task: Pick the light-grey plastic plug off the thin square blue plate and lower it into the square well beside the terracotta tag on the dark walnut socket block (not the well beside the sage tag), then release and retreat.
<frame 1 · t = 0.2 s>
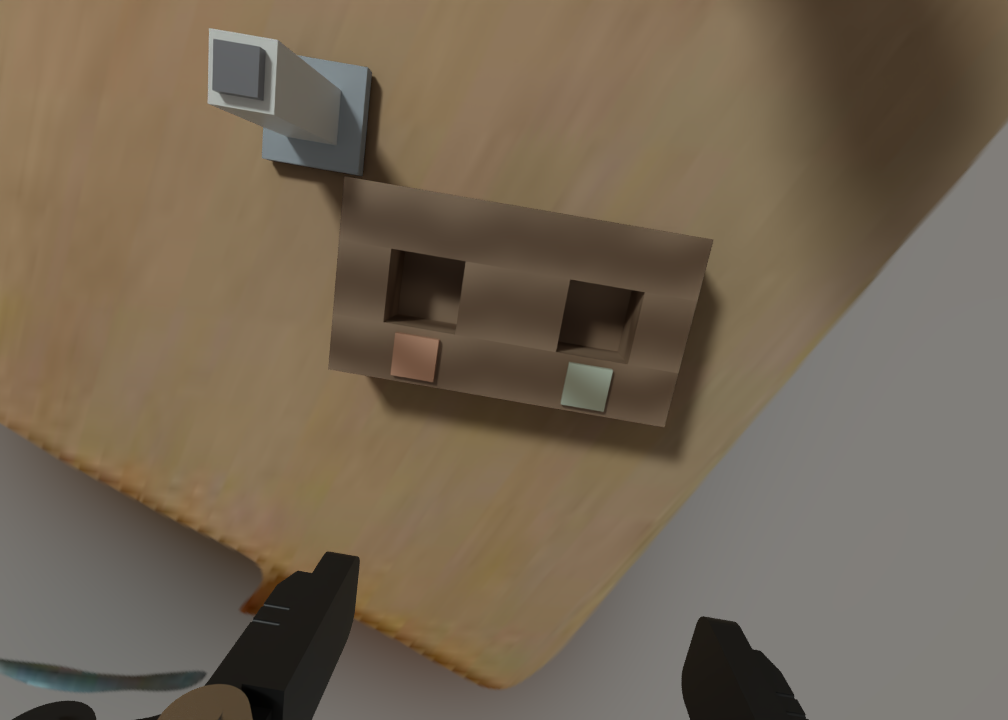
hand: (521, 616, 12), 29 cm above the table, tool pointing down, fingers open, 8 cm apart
thin square blue plate: (319, 117, 36), on the table
socket block: (513, 298, 38), on the table
plug: (313, 113, 35), point 1 cm above the table, touching thin square blue plate
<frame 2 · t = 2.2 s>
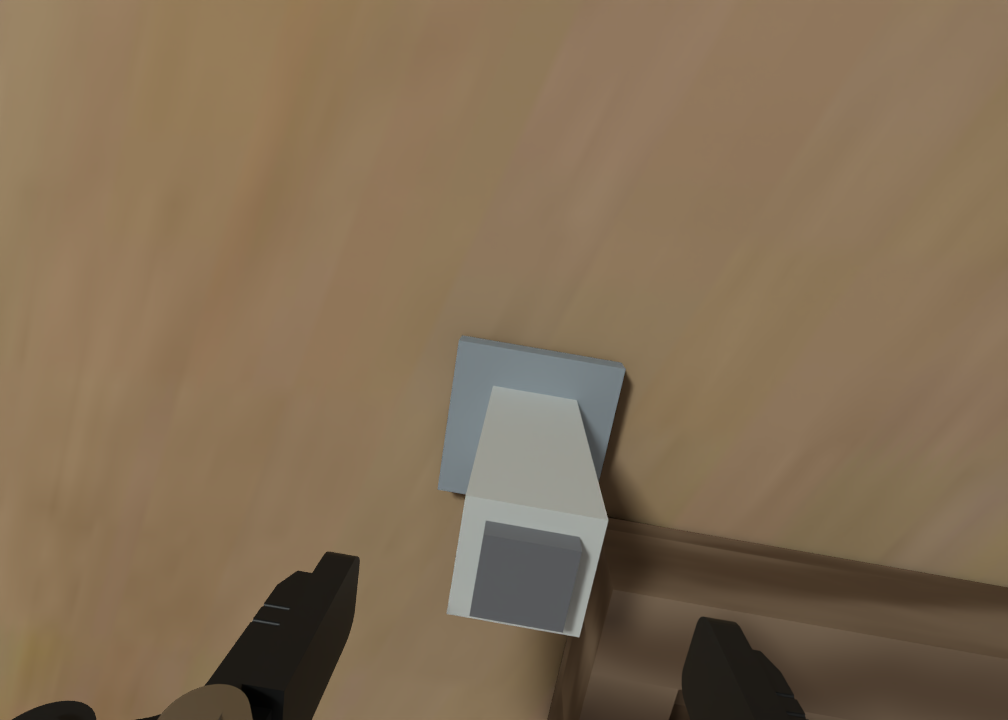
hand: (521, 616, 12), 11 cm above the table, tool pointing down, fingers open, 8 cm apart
thin square blue plate: (527, 423, 23), on the table
socket block: (804, 669, 25), on the table
plug: (527, 431, 22), point 1 cm above the table, touching thin square blue plate
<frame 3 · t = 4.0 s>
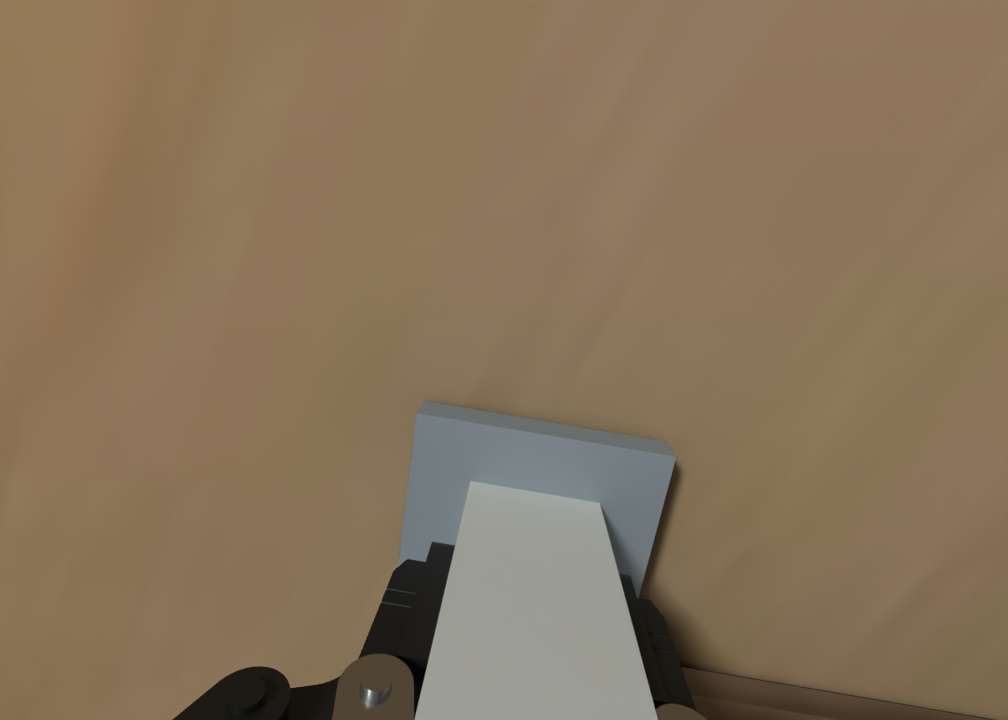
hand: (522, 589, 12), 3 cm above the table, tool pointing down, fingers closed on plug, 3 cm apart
thin square blue plate: (524, 528, 15), on the table
plug: (523, 548, 14), point 1 cm above the table, touching thin square blue plate, gripper
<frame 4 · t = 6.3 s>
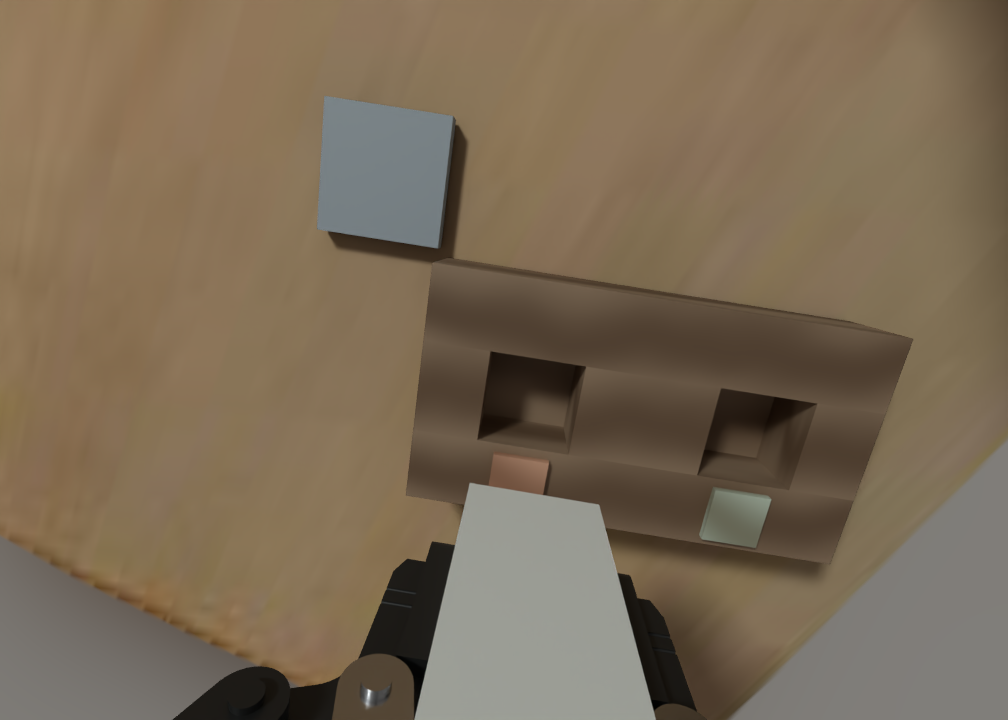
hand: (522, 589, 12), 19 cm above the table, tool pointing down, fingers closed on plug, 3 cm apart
thin square blue plate: (387, 176, 29), on the table
socket block: (625, 392, 31), on the table
plug: (523, 550, 14), point 18 cm above the table, touching gripper
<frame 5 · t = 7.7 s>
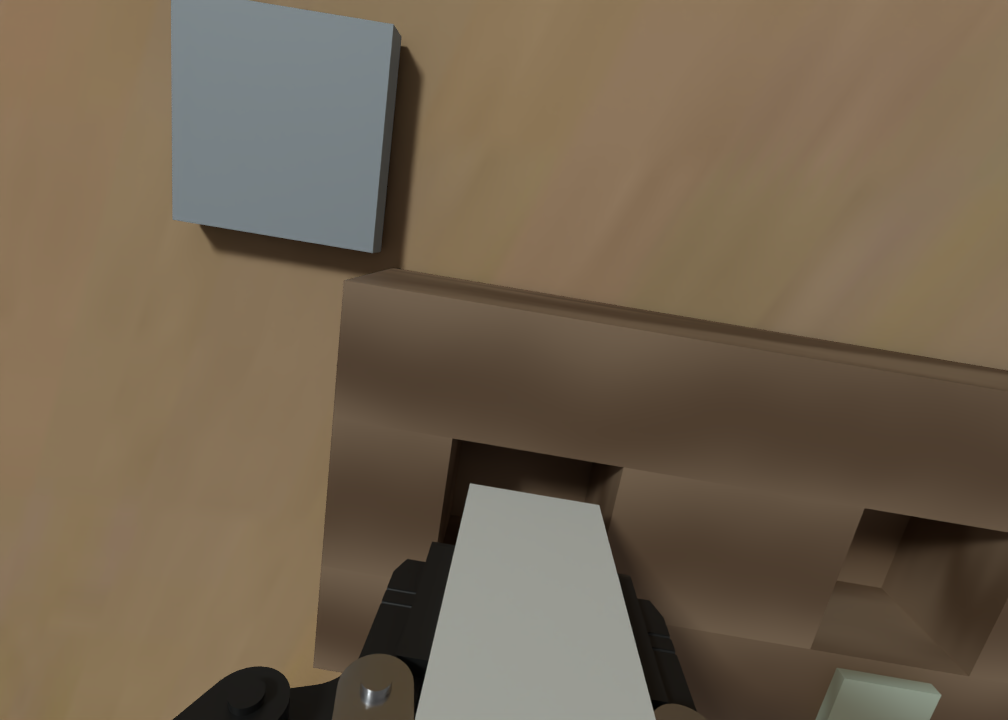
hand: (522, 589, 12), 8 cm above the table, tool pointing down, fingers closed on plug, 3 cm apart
thin square blue plate: (291, 133, 17), on the table
socket block: (673, 481, 20), on the table
plug: (523, 550, 14), point 6 cm above the table, touching gripper
when the fingers open (5 cm above the table, at t = 8.8 s): plug drops 3 cm, resting on socket block.
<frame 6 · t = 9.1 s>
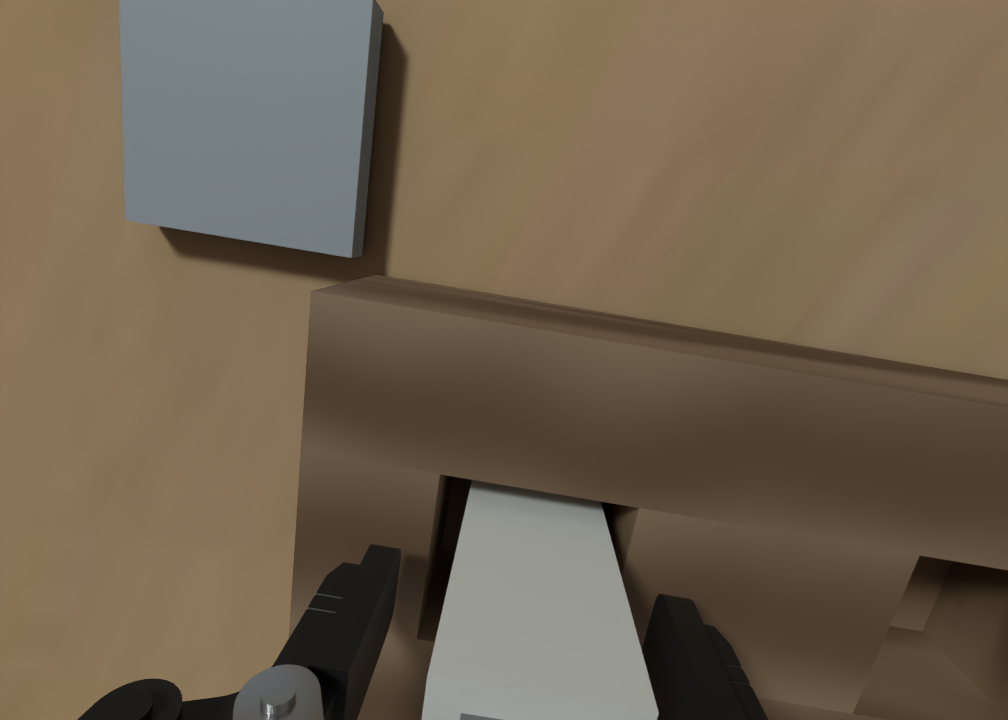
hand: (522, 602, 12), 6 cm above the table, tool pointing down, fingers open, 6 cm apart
thin square blue plate: (259, 122, 15), on the table
socket block: (689, 511, 18), on the table
plug: (526, 498, 17), point 1 cm above the table, touching socket block
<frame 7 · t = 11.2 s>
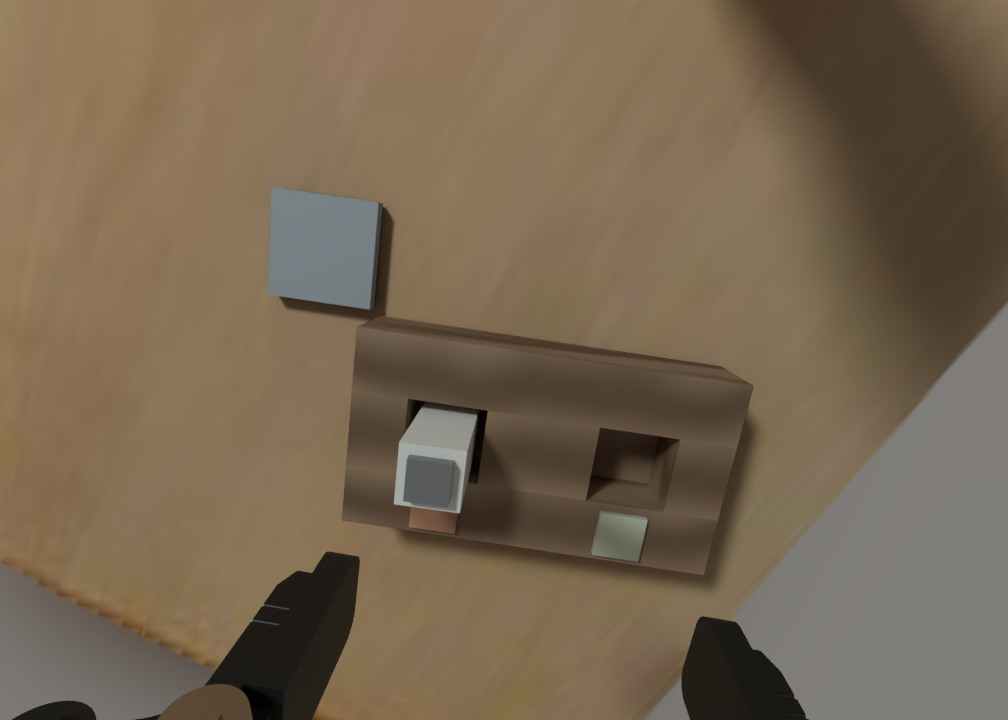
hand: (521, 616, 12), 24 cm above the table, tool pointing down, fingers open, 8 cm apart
thin square blue plate: (327, 249, 34), on the table
socket block: (535, 428, 36), on the table
plug: (453, 421, 35), point 1 cm above the table, touching socket block
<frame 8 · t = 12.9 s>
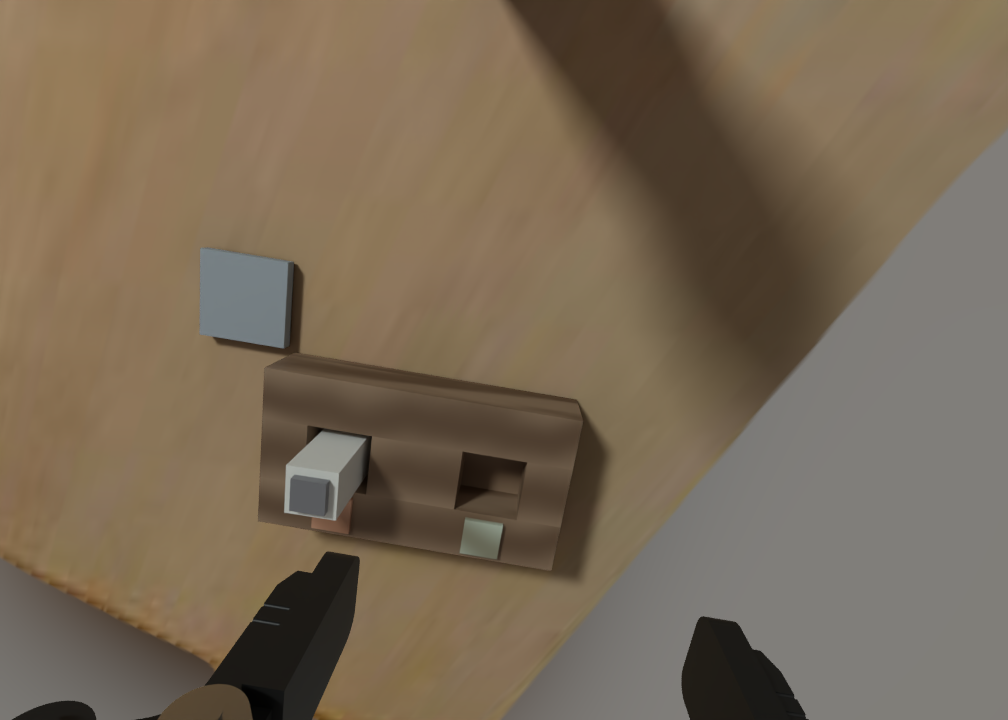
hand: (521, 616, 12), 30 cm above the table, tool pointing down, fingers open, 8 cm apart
thin square blue plate: (249, 297, 41), on the table
socket block: (426, 446, 43), on the table
plug: (355, 440, 42), point 1 cm above the table, touching socket block
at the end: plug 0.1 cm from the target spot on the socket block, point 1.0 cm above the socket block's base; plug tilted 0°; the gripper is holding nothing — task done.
